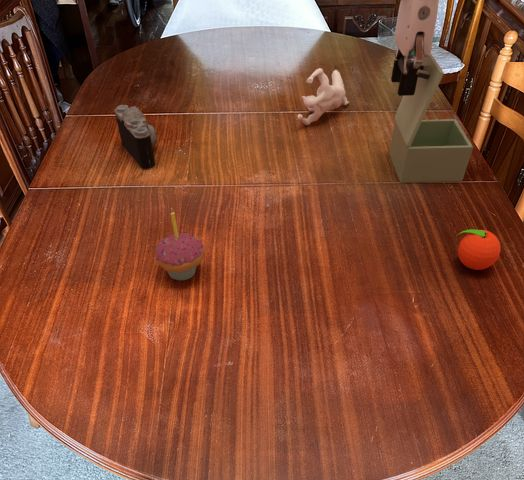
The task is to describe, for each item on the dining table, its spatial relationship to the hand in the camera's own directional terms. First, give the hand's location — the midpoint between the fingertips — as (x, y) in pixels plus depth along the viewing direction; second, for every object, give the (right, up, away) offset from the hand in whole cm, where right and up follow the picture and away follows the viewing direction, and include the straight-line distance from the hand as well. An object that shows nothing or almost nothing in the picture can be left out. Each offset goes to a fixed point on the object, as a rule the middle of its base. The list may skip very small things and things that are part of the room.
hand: (402, 87), depth 101 cm
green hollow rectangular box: (+9, -11, +13) cm, 19 cm away
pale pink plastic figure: (-12, +8, +30) cm, 33 cm away
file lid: (+4, -1, +2) cm, 4 cm away
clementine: (+10, -37, -9) cm, 39 cm away
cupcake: (-42, -38, -10) cm, 58 cm away
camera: (-56, -6, +18) cm, 59 cm away
